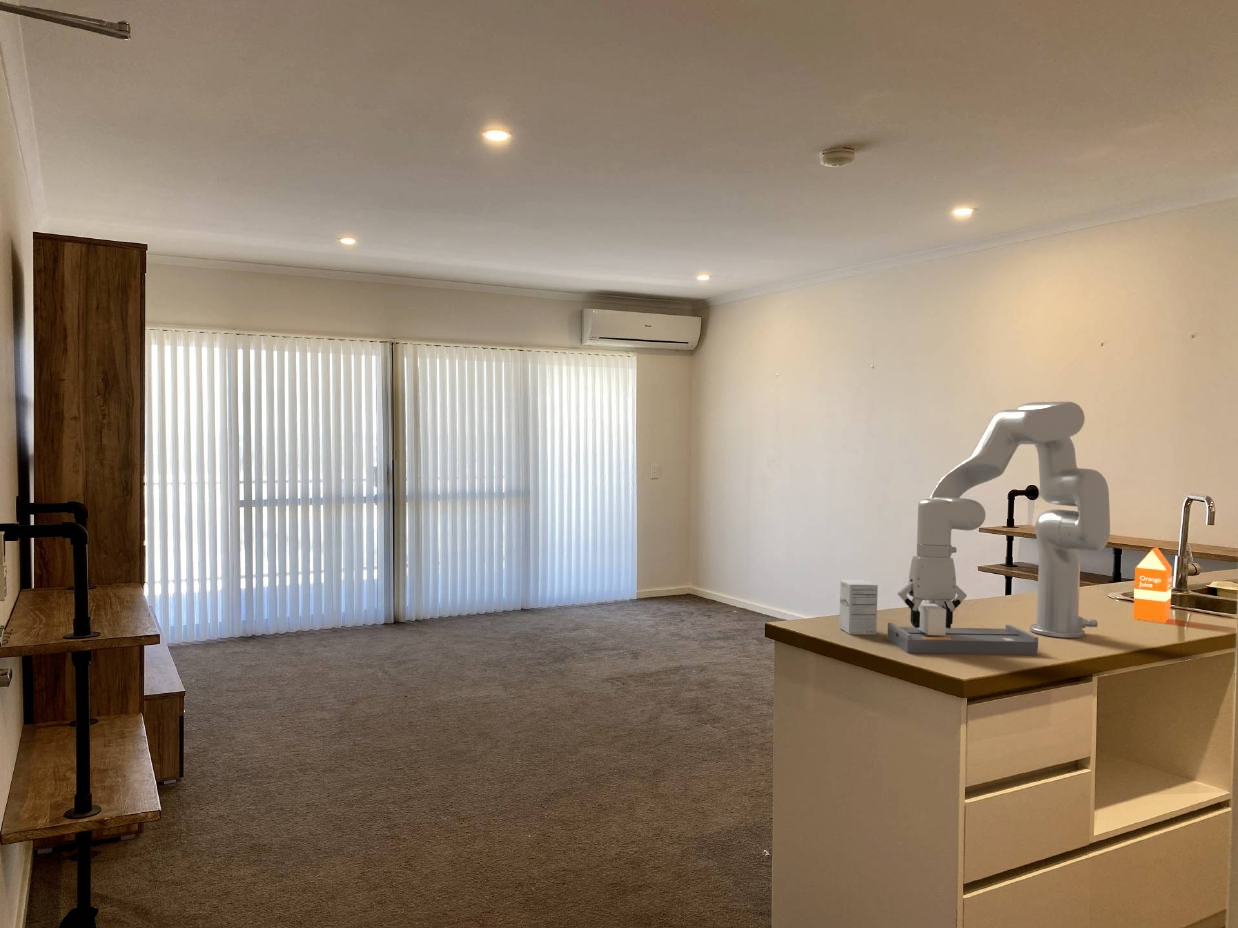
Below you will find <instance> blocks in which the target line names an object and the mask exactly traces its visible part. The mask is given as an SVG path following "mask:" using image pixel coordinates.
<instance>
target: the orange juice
mask: <svg viewBox="0 0 1238 928" xmlns="http://www.w3.org/2000/svg"><path fill="white" fill-rule="evenodd" d="M1172 573H1173V567H1172V566H1171V564H1170V563H1169V562H1168V560H1167V559H1166V557H1165V556H1164V555H1163V553H1162V552H1161V550H1160V549H1159V547H1158V546H1156V547H1154V548H1152V549H1151V550H1150V551H1149V553H1148V554H1147V555H1146V556H1145V557H1144V558H1143V559H1142V560H1141V561H1140V562H1139V564H1138V565H1136V567H1135V569H1134V589H1133V590H1134V591H1133V618H1132V619H1133V620H1135V619H1142V620H1141V621H1143V620H1148V621H1147V622H1151V621H1158V622H1162V623H1161V624H1165V623H1167V622H1168V621H1169V620H1170V619H1171V602H1172V601H1171V599H1172V577H1173V576H1172ZM1169 618H1170V619H1169ZM1168 619H1169V620H1168ZM1167 620H1168V621H1167ZM1166 621H1167V622H1166ZM1158 622H1157V623H1158Z"/></svg>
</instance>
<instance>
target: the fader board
mask: <svg viewBox="0 0 1238 928" xmlns="http://www.w3.org/2000/svg"><path fill="white" fill-rule="evenodd" d="M886 635H887V640H888V641H889V642H891V643H893V644H894V645H895V646H897V648H899V649H901V650H902V651H904V652H906V653H907V654H946V653H948V654H949V655H950V654H951V653H955V654H954V655H956V654H958V655H959V654H960V653H961V654H962V655H1007V654H1010V656H1011V654H1012V656H1013V655H1015V656H1016V655H1018V656H1022V655H1025V656H1027V655H1028V656H1038V653H1039V637H1038V636H1035V635H1033V634H1031V633H1029V632H1027V631H1025V630H1023V629H1021V628H1018V627H1016V626H1013V625H1011V624H1005V628H994V627H993V628H990V627H989V628H985V627H984V628H983V627H981V628H980V627H951V628H950V629H949V628H946V631H945V635H927V634H926V633H924V632H922V631H921V630H919V629H917V628H916V627H914V626H898V625H896V624H895V623H893V622H887V634H886ZM961 654H960V655H961Z"/></svg>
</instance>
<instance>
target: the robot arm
mask: <svg viewBox="0 0 1238 928" xmlns="http://www.w3.org/2000/svg"><path fill="white" fill-rule="evenodd" d="M1085 418H1086V417H1085V413H1084V410H1083V409H1082V407H1081V406H1080V405H1079V404H1077V403H1076V402H1074V401H1073V402H1072V401H1039V402H1038V401H1037V402H1029V403H1024V404H1021V405H1019V406H1018V407H1017V408H1015V409H1005V410H1001V411H998V412H996V413H995V414H994V415H993V416H992V417H991V419H990V420H989V422H988V424H987V426H986V427H985V429H984V431H983V433H982V434H981V437H980V439H979V440H978V442H977V444H976V445H975V446H974V449H973V451H972V452H971V454H970V456H969V457H968V458H966V459H965V460H963V462H961V463H959V464H958V465H957V466H955V467H953V469H952V470H950V471H949V472H948V473H946V474H945V475H944V476H943V477H942V478H941V479H940V480H939V481H938V483H937V485H936V486H935V488H934V490H933V491H932V493H931V495H930V497H929V498H924V499H921V500H920V501H919V502H918V506H917V527H916V529H917V531H916V536H917V537H916V555H913V556H912V559H911V562H910V568H909V575H908V583H907V585H905V586H904V587H903V588H902V589H901V590H900V591H898V593H897V595H898V597H899V598H900V599H901V600H902V601H903V602H904V603H905V605H906V606H908V608H909V609H910V624H911V627H916V628H919V627H920V611H918V608H919V606H920V604H922V602H923V601H925V600H942V601H943V603H944V605H945V609H946V628H949V629H950V628H952V627H951V625H953V621H954V620H953V619H954V617H953V616H954V614H953V613H954V612H955V611H956V609H957V608H958V607H959V606H960V605H961V604H962V602H963V601H964V600H965V599H966V598H967V594H966V592H964V591H963V589H961V587H959V586H958V585H957V578H956V576H957V575H956V574H957V573H956V568H955V562H954V558H953V557H951V556H952V554H953V553H954V554H956V553H957V551H958V550H957V547H956V546H953V545H952V530H958V531H968V532H969V531H973V530H976V529H978V528H980V527H981V526H982V525H984V522H985V520H986V516H987V515H986V511H985V508H984V506H983V505H982V504H981V503H980V502H978V501H977V500H975V499H970V498H961V496H963V495H964V493H966V492H967V491H968V490H970V489H972V488H974V487H976V486H979V485H981V484H984V483H987V482H989V481H992V480H994V479H997V478H999V477H1000V476H1002V475H1003V474H1004V473H1005V471H1006V468H1007V467H1008V466H1009V463H1010V461H1011V460H1012V458H1013V456H1014V454H1015V452H1016V451H1017V450H1018V449H1017V448H1018V447H1019V446H1020V445H1034V446H1035V449H1036V451H1037V458H1038V472H1039V476H1038V477H1039V488H1040V491H1039V492H1040V495H1041V498H1042V500H1043V501H1045V502H1046V503H1048V504H1050V505H1051V504H1052V505H1057V506H1068V507H1077V511H1076V510H1068V509H1048V510H1046V511H1044V512H1042V513H1041V514H1040V515H1039V516H1038V517H1037V519H1036V521H1035V527H1034V528H1035V537H1036V541H1037V548H1038V570H1037V571H1038V573H1037V574H1038V575H1037V600H1036V601H1037V602H1036V623H1033V624H1032V623H1031V624H1030V625H1029V630H1030V631H1031V632H1032V633H1035V634H1037V635H1038V634H1039V635H1043V636H1047V637H1055V638H1063V639H1064V638H1065V639H1066V638H1067V639H1071V638H1072V639H1075V638H1083V637H1084V636H1085V635H1086V633H1085V630H1084V629H1086V628H1087V627H1088V628H1097V627H1098V624H1099V623H1098V621H1097V619H1087V618H1083V617H1082V616H1079V609H1080V581H1081V579H1080V578H1081V563H1080V560H1079V557H1078V556H1077V553H1076V551H1075V550H1078V551H1087V552H1097V551H1101V550H1103V549H1104V548H1105V547H1106V546H1107V545H1108V542H1109V540H1110V536H1111V514H1110V511H1111V510H1110V491H1109V485H1108V483H1107V482H1108V481H1107V480H1106V478H1105V477H1104V475H1103V474H1102V473H1101V472H1100V471H1098V470H1096V469H1095V470H1094V469H1091V468H1080V467H1078V466H1077V457H1076V449H1075V445H1074V443H1073V440H1072V439H1071V437H1073V436H1075V435H1077V434H1078V433H1079V432H1080V431H1081V430H1082V429H1083V427H1084V424H1085ZM956 595H957V596H956ZM908 596H910V597H912V598H911V599H910V598H909V597H908Z"/></svg>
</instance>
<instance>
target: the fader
mask: <svg viewBox="0 0 1238 928" xmlns="http://www.w3.org/2000/svg"><path fill="white" fill-rule="evenodd" d="M918 611H920V627H919V628H917V629H919V630H921V631H922V632H924V633H926V634H927V635H945V631H946V609H944V608H942V607H940V606H938V605H936V604H925V603H921V604H920V606H919V608H918Z"/></svg>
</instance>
